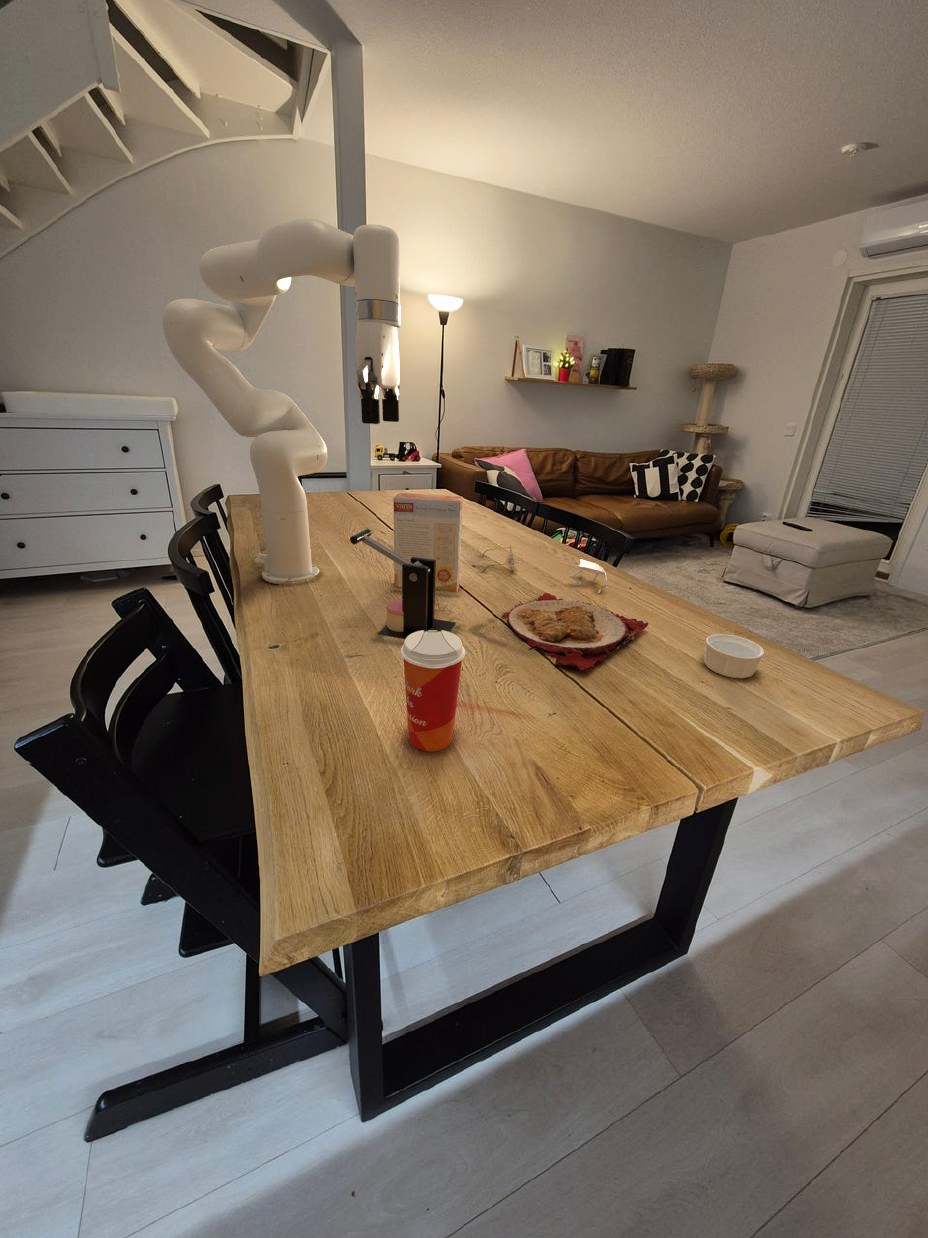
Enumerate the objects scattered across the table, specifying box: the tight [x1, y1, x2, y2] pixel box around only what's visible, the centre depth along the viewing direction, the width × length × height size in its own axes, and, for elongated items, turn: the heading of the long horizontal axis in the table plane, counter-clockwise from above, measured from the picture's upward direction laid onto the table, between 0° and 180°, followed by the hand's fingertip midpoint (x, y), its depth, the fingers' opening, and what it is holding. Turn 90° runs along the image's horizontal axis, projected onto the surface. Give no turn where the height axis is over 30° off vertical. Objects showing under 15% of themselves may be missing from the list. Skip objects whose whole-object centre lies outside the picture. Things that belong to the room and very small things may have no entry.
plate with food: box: [492, 592, 650, 671], centre depth 96 cm, size 24×26×4 cm
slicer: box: [377, 557, 458, 640], centre depth 89 cm, size 12×10×14 cm
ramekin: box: [703, 633, 765, 679], centre depth 85 cm, size 9×9×4 cm
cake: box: [385, 599, 403, 632], centre depth 92 cm, size 6×6×4 cm
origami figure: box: [568, 559, 608, 594], centre depth 119 cm, size 12×8×5 cm
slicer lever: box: [349, 528, 431, 574], centre depth 87 cm, size 14×6×2 cm, turn 75°
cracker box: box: [392, 492, 463, 593], centre depth 109 cm, size 14×6×21 cm, turn 84°
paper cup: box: [400, 630, 466, 753], centre depth 62 cm, size 8×8×14 cm
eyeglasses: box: [481, 545, 515, 573], centre depth 131 cm, size 14×8×4 cm, turn 179°
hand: (381, 422), depth 93 cm, fingers open, 9 cm apart
